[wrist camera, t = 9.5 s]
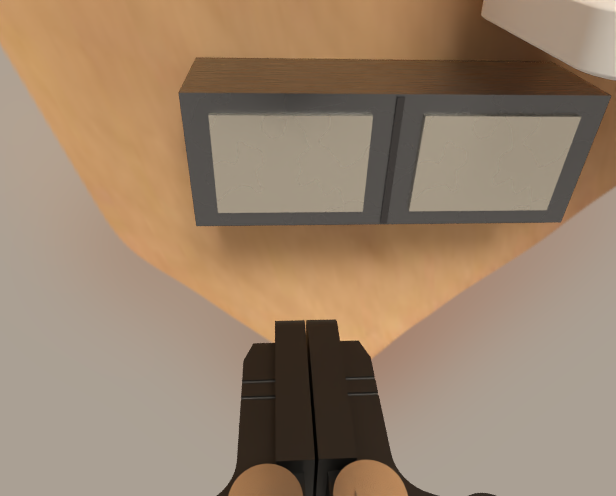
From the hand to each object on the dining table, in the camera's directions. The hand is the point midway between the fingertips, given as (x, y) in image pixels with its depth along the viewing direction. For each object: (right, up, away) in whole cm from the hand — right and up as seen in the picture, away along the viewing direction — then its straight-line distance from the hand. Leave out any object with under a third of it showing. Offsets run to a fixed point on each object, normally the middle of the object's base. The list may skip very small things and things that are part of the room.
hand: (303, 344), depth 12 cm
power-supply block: (+3, +9, +12) cm, 16 cm away
